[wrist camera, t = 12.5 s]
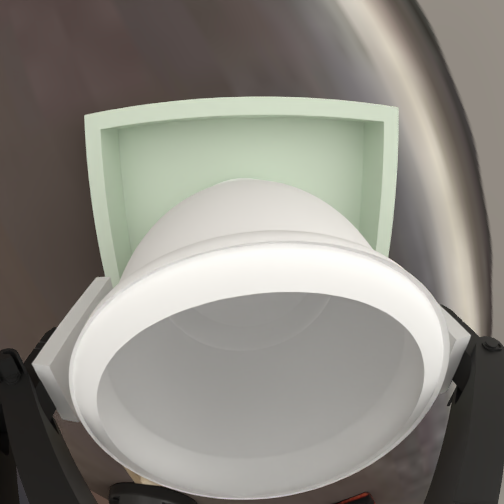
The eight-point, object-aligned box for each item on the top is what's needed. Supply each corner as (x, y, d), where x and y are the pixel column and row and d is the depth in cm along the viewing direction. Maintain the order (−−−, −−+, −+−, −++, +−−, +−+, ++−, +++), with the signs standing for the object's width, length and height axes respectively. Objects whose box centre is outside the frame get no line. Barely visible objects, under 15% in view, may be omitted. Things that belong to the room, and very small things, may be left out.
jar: (263, 128, 18) (361, 117, 4) (344, 253, 22) (467, 411, 8) (134, 226, 20) (7, 384, 6) (225, 330, 23) (227, 518, 10)
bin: (141, 344, 24) (132, 372, 21) (106, 117, 18) (84, 115, 14) (353, 333, 25) (367, 359, 22) (373, 109, 18) (398, 107, 15)
